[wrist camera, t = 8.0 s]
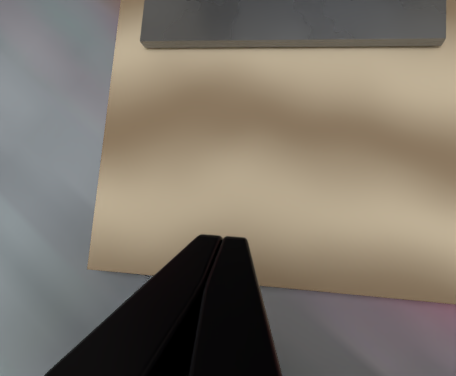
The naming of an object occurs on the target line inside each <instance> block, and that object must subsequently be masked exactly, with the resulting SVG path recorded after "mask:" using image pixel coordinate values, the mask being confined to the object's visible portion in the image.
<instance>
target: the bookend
mask: <svg viewBox="0 0 456 376" xmlns="http://www.w3.org/2000/svg"><path fill="white" fill-rule="evenodd" d="M445 39H446V0H145V1H144V9H143V18H142V26H141V35H140V42H141V44H142V45H143V46H144V47H145V48H207V47H359V46H441V45H442V44H443V42H444V41H445Z"/></svg>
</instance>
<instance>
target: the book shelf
mask: <svg viewBox="0 0 456 376" xmlns="http://www.w3.org/2000/svg"><path fill="white" fill-rule="evenodd" d="M144 1H145V0H121V4H120V12H119V20H118V28H117V36H116V44H115V52H114V60H113V68H112V76H111V84H110V92H109V100H108V108H107V116H106V124H105V132H104V140H103V148H102V156H101V164H100V171H99V179H98V187H97V195H96V203H95V211H94V219H93V227H92V235H91V243H90V251H89V259H88V267H87V269H90V270H101V271H111V272H122V273H132V274H143V275H153V276H154V275H155V274H156V273H157V272H158V271H159V270H160V269H162V268H163V267H164V266H165V265H166V264H167V263H168V262H169V261H170V260H171V259H173V258H174V257H175V256H176V255H177V254H178V253H179V252H180V251H181V250H182V249H184V248H185V247H186V246H187V245H188V244H189V243H190V242H191V241H192V240H193V239H195V238H196V237H197V236H198V235H200V234H208V235H219V236H221V237H222V238H224V237H225V236H235V237H245V238H246V239H247V240H248V244H249V247H250V251H251V255H252V259H253V263H254V267H255V271H256V275H257V279H258V283H259V286H269V287H279V288H290V289H300V290H311V291H321V292H332V293H342V294H353V295H363V296H374V297H384V298H395V299H405V300H416V301H426V302H437V303H447V304H456V0H446V39H445V41H444V42H443V44H442V45H441V46H359V47H207V48H145V47H144V46H143V45H142V44H141V42H140V35H141V26H142V18H143V9H144Z"/></svg>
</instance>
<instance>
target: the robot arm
mask: <svg viewBox="0 0 456 376" xmlns="http://www.w3.org/2000/svg"><path fill="white" fill-rule="evenodd" d="M44 376H282V373H281V369H280V365H279V361H278V357H277V353H276V350H275V346H274V342H273V338H272V334H271V330H270V326H269V322H268V318H267V314H266V310H265V306H264V302H263V298H262V295H261V291H260V287H259V283H258V279H257V275H256V271H255V267H254V263H253V259H252V255H251V251H250V247H249V244H248V240H247V239H246V238H245V237H235V236H225V237H224V238H222V237H221V236H219V235H208V234H200V235H198V236H197V237H196V238H195V239H193V240H192V241H191V242H190V243H189V244H188V245H187V246H186V247H185V248H184V249H182V250H181V251H180V252H179V253H178V254H177V255H176V256H175V257H174V258H173V259H171V260H170V261H169V262H168V263H167V264H166V265H165V266H164V267H163V268H162V269H160V270H159V271H158V272H157V273H156V274H155V275H154V276H153V277H152V278H151V279H149V280H148V281H147V282H146V283H145V284H144V285H143V286H142V287H141V288H140V289H138V290H137V291H136V292H135V293H134V294H133V295H132V296H131V297H130V298H129V299H127V300H126V301H125V302H124V303H123V304H122V305H121V306H120V307H119V308H118V309H116V310H115V311H114V312H113V313H112V314H111V315H110V316H109V317H108V318H107V319H105V320H104V321H103V322H102V323H101V324H100V325H99V326H98V327H97V328H96V329H94V330H93V331H92V332H91V333H90V334H89V335H88V336H87V337H86V338H85V339H83V340H82V341H81V342H80V343H79V344H78V345H77V346H76V347H75V348H74V349H72V350H71V351H70V352H69V353H68V354H67V355H66V356H65V357H64V358H63V359H61V360H60V361H59V362H58V363H57V364H56V365H55V366H54V367H53V368H52V369H50V370H49V371H48V372H47V373H46V374H45V375H44Z"/></svg>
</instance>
